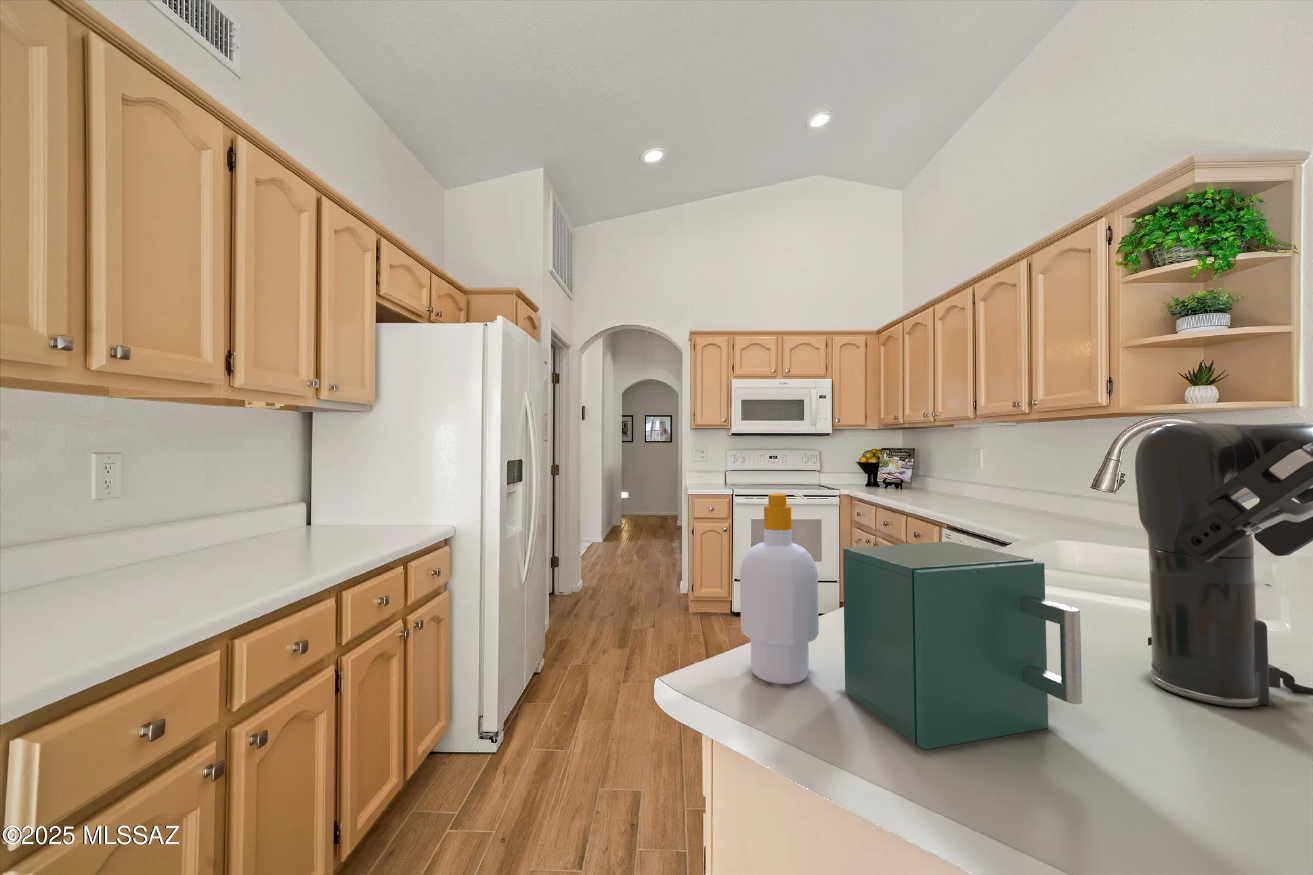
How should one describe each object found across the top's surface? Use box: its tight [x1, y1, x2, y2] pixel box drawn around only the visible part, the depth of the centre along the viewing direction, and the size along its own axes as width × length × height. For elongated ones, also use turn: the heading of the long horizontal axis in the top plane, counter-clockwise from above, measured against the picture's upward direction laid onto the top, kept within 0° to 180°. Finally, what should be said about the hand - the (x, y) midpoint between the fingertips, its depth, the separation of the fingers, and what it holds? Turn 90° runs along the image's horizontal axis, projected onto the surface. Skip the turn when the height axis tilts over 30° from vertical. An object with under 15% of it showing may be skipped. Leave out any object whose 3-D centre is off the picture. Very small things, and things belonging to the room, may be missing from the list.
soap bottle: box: [739, 492, 820, 685], centre depth 72 cm, size 10×10×24 cm
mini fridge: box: [842, 541, 1035, 745], centre depth 62 cm, size 12×16×18 cm
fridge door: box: [914, 560, 1083, 751], centre depth 53 cm, size 6×16×18 cm, turn 105°
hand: (1229, 549), depth 41 cm, fingers open, 8 cm apart
